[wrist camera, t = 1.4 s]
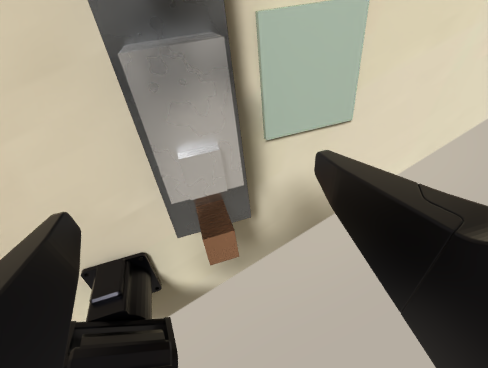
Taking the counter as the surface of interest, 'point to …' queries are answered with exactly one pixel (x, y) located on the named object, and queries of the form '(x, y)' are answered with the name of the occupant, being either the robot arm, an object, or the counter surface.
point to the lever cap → (186, 112)
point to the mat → (309, 64)
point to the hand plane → (115, 37)
